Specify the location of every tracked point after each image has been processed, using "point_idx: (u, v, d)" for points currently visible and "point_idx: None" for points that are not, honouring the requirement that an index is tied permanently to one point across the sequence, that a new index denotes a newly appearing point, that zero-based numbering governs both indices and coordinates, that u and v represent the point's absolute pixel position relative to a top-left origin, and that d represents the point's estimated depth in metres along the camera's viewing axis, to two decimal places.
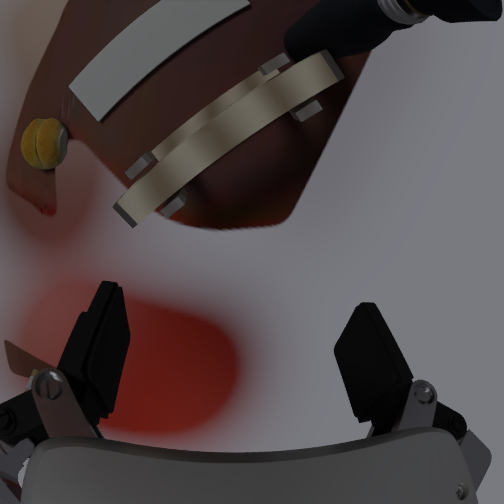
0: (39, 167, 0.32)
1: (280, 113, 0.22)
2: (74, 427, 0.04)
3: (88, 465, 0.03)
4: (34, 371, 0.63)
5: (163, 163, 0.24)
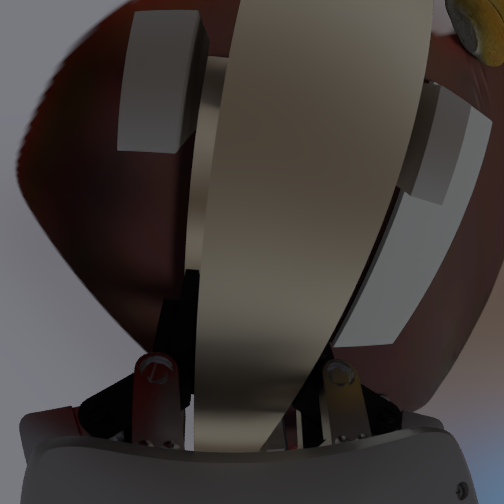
0: None
1: (197, 446, 0.11)
2: (164, 416, 0.06)
3: (88, 465, 0.03)
4: None
5: (357, 251, 0.05)
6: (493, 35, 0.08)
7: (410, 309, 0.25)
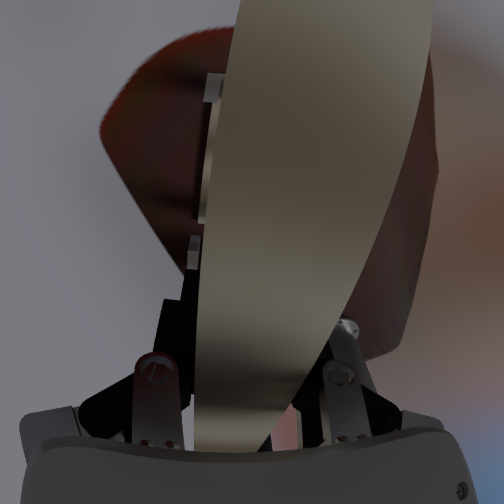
0: None
1: (197, 444, 0.11)
2: (164, 416, 0.06)
3: (88, 465, 0.03)
4: None
5: (357, 250, 0.05)
6: None
7: None
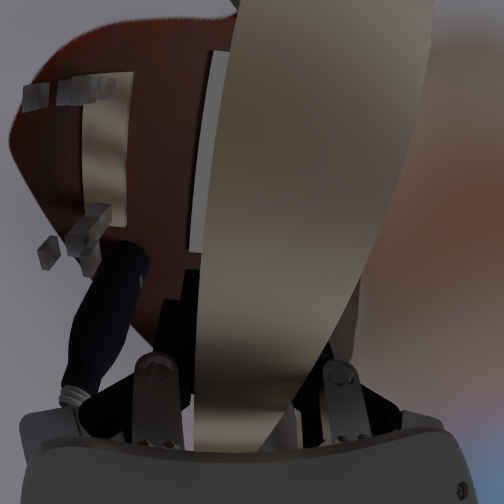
0: None
1: (197, 444, 0.11)
2: (164, 416, 0.06)
3: (88, 465, 0.03)
4: None
5: (358, 250, 0.05)
6: None
7: None
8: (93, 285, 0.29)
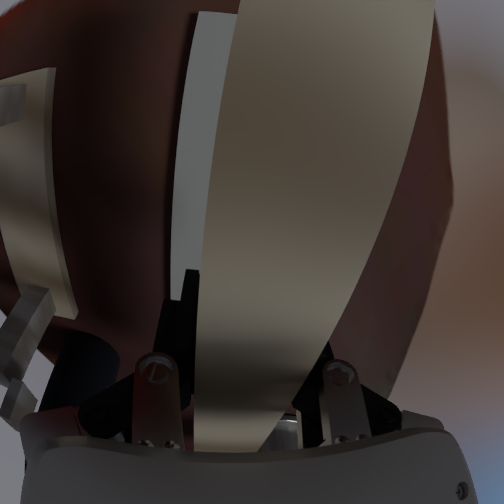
0: None
1: (197, 444, 0.11)
2: (164, 416, 0.06)
3: (88, 465, 0.03)
4: None
5: (358, 249, 0.05)
6: None
7: None
8: None
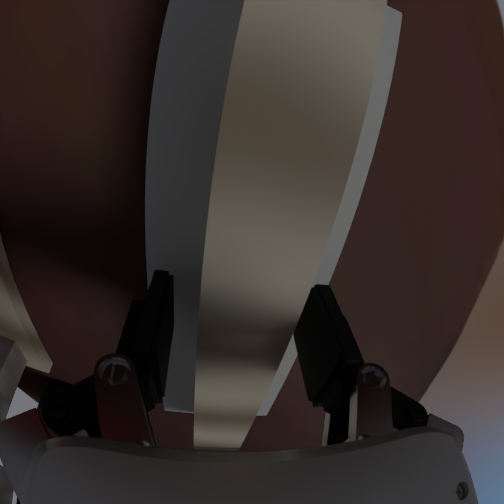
0: None
1: (197, 411, 0.12)
2: (129, 416, 0.05)
3: (88, 465, 0.03)
4: None
5: (327, 210, 0.07)
6: None
7: (274, 382, 0.17)
8: None
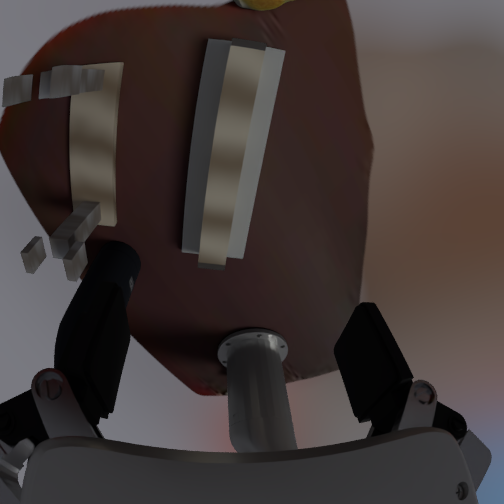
0: None
1: (204, 213, 0.29)
2: (74, 427, 0.04)
3: (88, 465, 0.03)
4: None
5: (249, 112, 0.24)
6: None
7: (245, 221, 0.34)
8: (80, 288, 0.27)
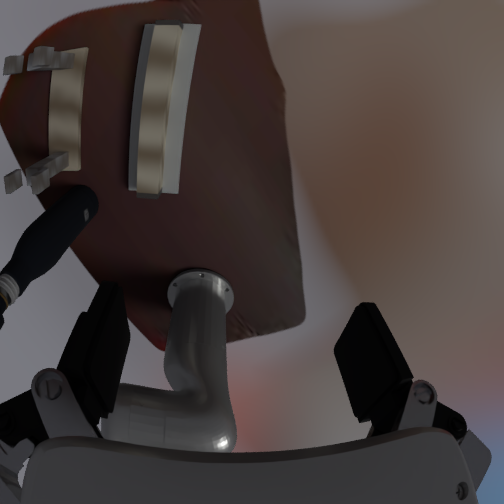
0: None
1: (139, 149, 0.34)
2: (74, 427, 0.04)
3: (88, 465, 0.03)
4: None
5: (168, 69, 0.28)
6: None
7: (176, 159, 0.38)
8: None
